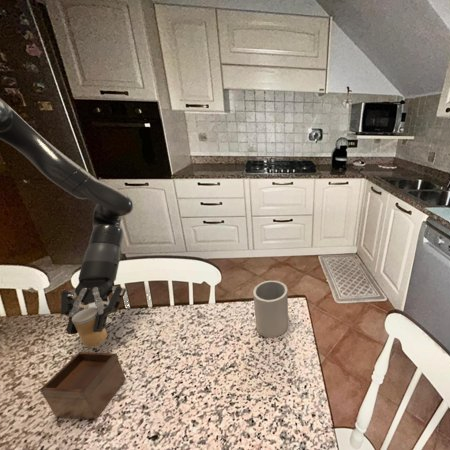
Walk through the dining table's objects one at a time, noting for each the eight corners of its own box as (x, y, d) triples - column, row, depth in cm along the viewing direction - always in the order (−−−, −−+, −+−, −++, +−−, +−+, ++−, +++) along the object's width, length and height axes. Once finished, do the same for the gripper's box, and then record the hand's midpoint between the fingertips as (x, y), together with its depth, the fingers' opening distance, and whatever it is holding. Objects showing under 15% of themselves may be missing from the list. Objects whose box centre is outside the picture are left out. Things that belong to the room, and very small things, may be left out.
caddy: (55, 417, 48) (39, 389, 45) (91, 377, 55) (79, 351, 52) (95, 419, 47) (82, 392, 44) (126, 379, 55) (116, 353, 52)
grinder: (77, 347, 59) (65, 321, 56) (94, 331, 63) (84, 306, 60) (97, 347, 59) (85, 322, 56) (112, 332, 63) (103, 307, 60)
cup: (250, 322, 71) (247, 288, 66) (276, 309, 76) (275, 276, 71) (267, 343, 64) (264, 306, 59) (294, 326, 69) (294, 292, 65)
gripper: (59, 261, 60) (37, 336, 53) (122, 257, 62) (107, 330, 55) (82, 267, 67) (64, 335, 60) (137, 264, 68) (126, 330, 62)
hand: (85, 332), depth 58 cm, fingers closed on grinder, 5 cm apart
